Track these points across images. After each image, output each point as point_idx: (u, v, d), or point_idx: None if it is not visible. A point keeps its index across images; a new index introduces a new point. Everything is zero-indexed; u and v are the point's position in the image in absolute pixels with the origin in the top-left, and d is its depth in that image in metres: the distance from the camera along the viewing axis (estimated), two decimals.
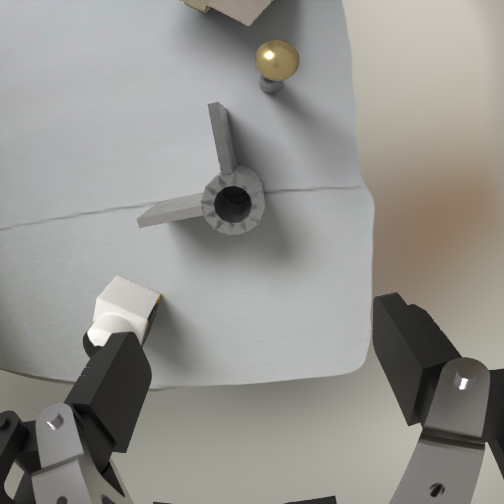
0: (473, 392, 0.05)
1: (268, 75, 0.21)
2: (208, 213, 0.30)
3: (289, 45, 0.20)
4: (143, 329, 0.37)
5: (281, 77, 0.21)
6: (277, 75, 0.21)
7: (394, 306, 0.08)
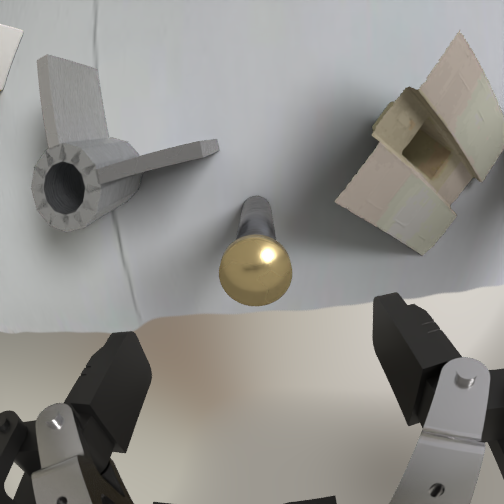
0: (473, 392, 0.05)
1: (224, 261, 0.14)
2: (51, 155, 0.17)
3: (281, 292, 0.15)
4: None
5: (222, 280, 0.15)
6: (225, 274, 0.15)
7: (394, 306, 0.08)
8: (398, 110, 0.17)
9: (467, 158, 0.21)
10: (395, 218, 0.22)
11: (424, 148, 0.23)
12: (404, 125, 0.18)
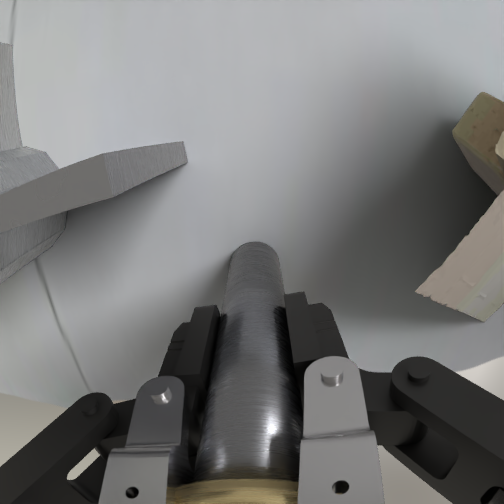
0: (332, 390, 0.06)
1: None
2: None
3: None
4: None
5: None
6: None
7: (294, 304, 0.09)
8: None
9: None
10: (480, 291, 0.12)
11: None
12: None
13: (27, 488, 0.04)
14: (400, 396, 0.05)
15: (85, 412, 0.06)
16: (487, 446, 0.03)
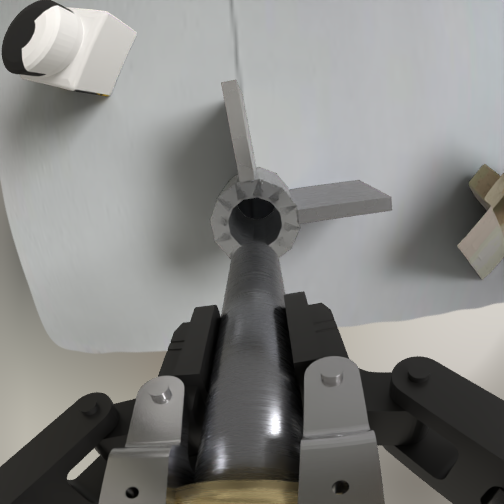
0: (332, 390, 0.06)
1: None
2: (242, 189, 0.21)
3: None
4: (60, 85, 0.19)
5: None
6: None
7: (294, 304, 0.09)
8: (500, 181, 0.21)
9: None
10: (479, 254, 0.26)
11: None
12: (500, 191, 0.22)
13: (27, 488, 0.04)
14: (400, 396, 0.05)
15: (85, 412, 0.06)
16: (487, 446, 0.03)
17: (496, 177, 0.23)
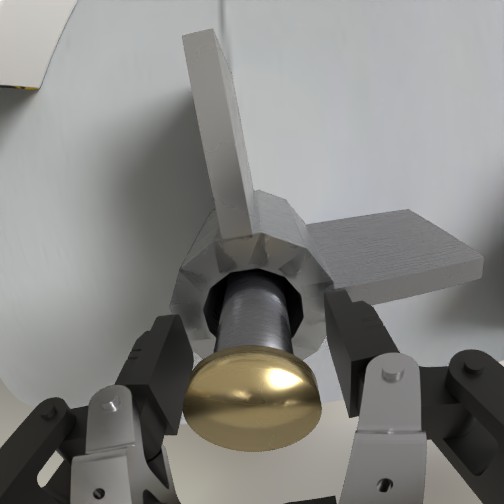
0: (396, 387, 0.05)
1: (190, 396, 0.07)
2: (228, 253, 0.11)
3: (299, 436, 0.07)
4: None
5: (190, 421, 0.07)
6: (195, 414, 0.07)
7: (338, 302, 0.09)
8: None
9: None
10: None
11: None
12: None
13: (3, 493, 0.03)
14: (454, 385, 0.05)
15: (44, 415, 0.06)
16: None
17: None
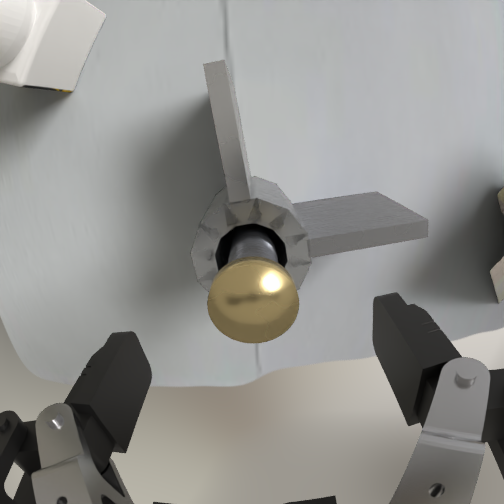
0: (473, 392, 0.05)
1: (213, 290, 0.11)
2: (233, 212, 0.15)
3: (285, 327, 0.12)
4: (7, 81, 0.13)
5: (211, 313, 0.12)
6: (215, 306, 0.12)
7: (394, 306, 0.08)
8: None
9: None
10: None
11: None
12: None
13: None
14: None
15: (0, 427, 0.05)
16: None
17: None
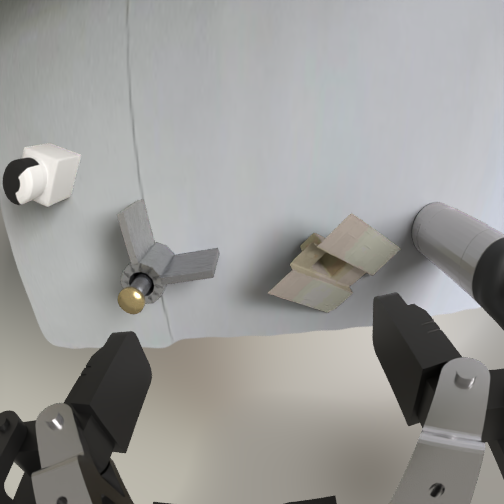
0: (473, 392, 0.05)
1: (119, 296, 0.35)
2: (133, 267, 0.39)
3: (141, 309, 0.36)
4: (40, 203, 0.37)
5: (119, 303, 0.36)
6: (120, 301, 0.36)
7: (394, 306, 0.08)
8: (307, 251, 0.40)
9: (356, 267, 0.44)
10: (304, 297, 0.45)
11: (331, 257, 0.46)
12: (310, 257, 0.41)
13: None
14: None
15: (0, 427, 0.05)
16: None
17: (318, 244, 0.43)
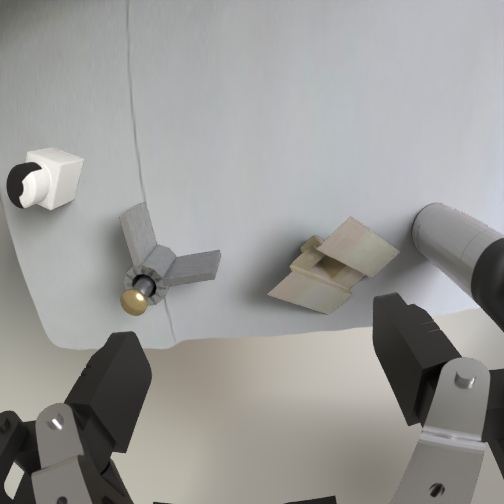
0: (473, 392, 0.05)
1: (121, 298, 0.36)
2: (135, 270, 0.40)
3: (143, 311, 0.37)
4: (43, 206, 0.38)
5: (122, 305, 0.37)
6: (123, 303, 0.36)
7: (394, 306, 0.08)
8: (306, 254, 0.40)
9: (356, 269, 0.44)
10: (303, 299, 0.46)
11: (331, 260, 0.46)
12: (310, 259, 0.41)
13: None
14: None
15: (0, 427, 0.05)
16: None
17: (318, 246, 0.43)
